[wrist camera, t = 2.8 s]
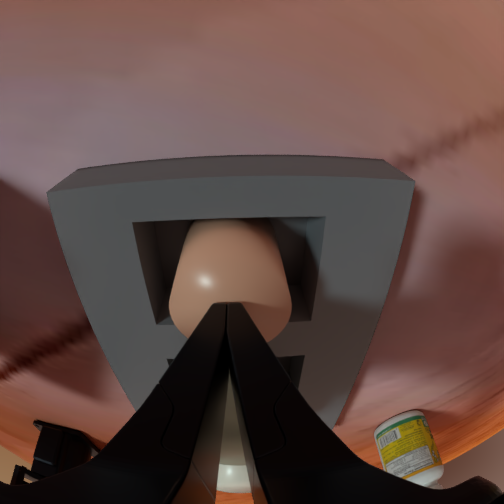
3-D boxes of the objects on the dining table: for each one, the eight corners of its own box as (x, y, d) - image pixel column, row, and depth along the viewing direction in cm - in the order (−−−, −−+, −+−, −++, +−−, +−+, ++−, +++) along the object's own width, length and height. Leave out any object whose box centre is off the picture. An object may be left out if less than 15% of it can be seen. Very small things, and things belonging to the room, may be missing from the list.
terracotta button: (274, 278, 13) (286, 349, 10) (191, 280, 13) (179, 351, 10) (277, 200, 11) (296, 258, 8) (181, 203, 11) (159, 261, 8)
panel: (317, 420, 21) (322, 448, 19) (166, 425, 21) (163, 452, 19) (382, 159, 11) (415, 181, 9) (78, 168, 10) (46, 192, 8)
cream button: (267, 441, 18) (272, 491, 15) (216, 443, 18) (216, 493, 15) (270, 420, 17) (275, 478, 13) (210, 421, 16) (209, 480, 13)
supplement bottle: (376, 419, 23) (402, 512, 14) (428, 401, 22) (460, 486, 14) (369, 440, 25) (390, 518, 17) (416, 425, 25) (441, 498, 17)
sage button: (272, 396, 15) (279, 463, 12) (204, 398, 15) (201, 465, 12) (276, 355, 13) (286, 434, 10) (195, 357, 13) (188, 437, 10)
